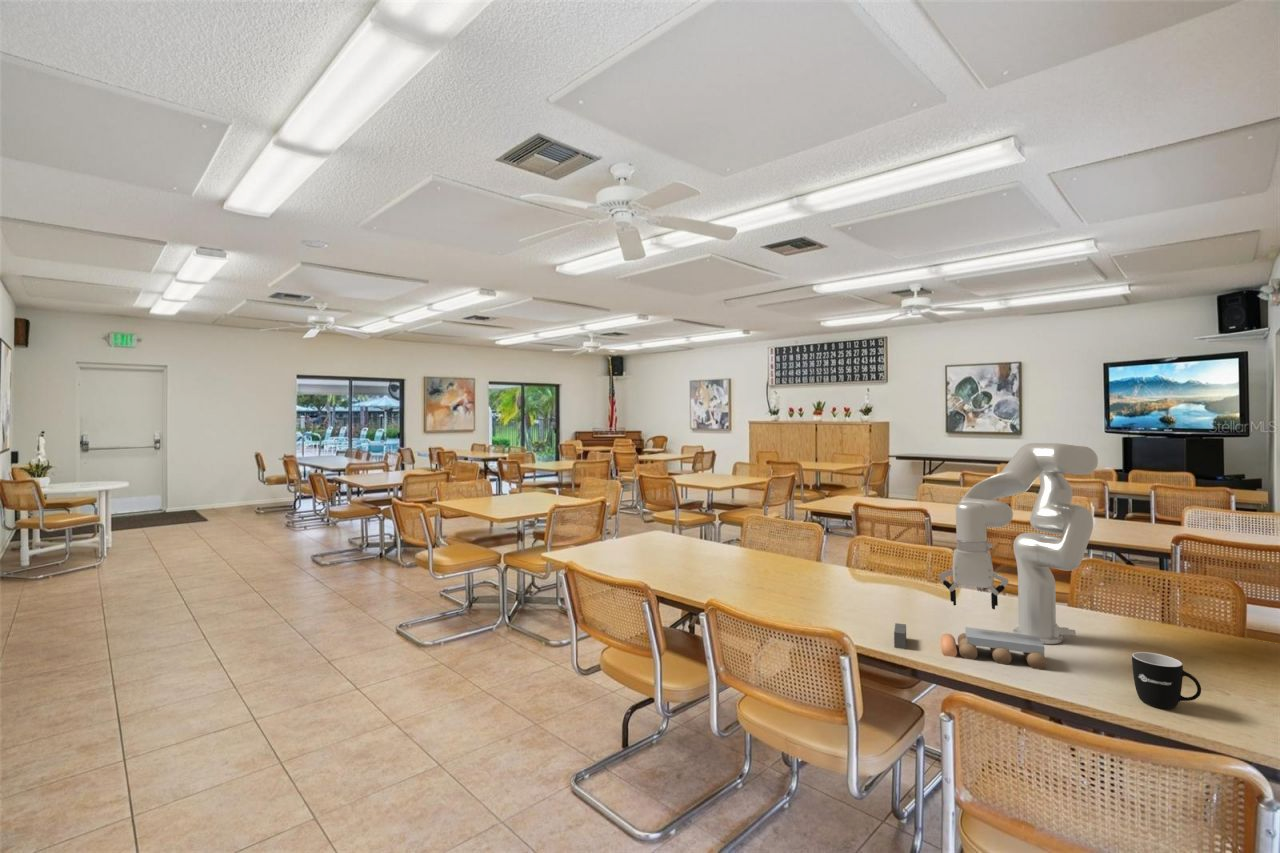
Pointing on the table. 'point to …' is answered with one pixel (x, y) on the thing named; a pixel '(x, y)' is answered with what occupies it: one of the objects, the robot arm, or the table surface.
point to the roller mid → (1001, 655)
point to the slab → (1004, 640)
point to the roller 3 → (1036, 660)
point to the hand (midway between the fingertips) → (973, 606)
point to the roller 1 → (948, 645)
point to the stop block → (900, 636)
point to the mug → (1160, 679)
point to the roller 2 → (966, 648)
